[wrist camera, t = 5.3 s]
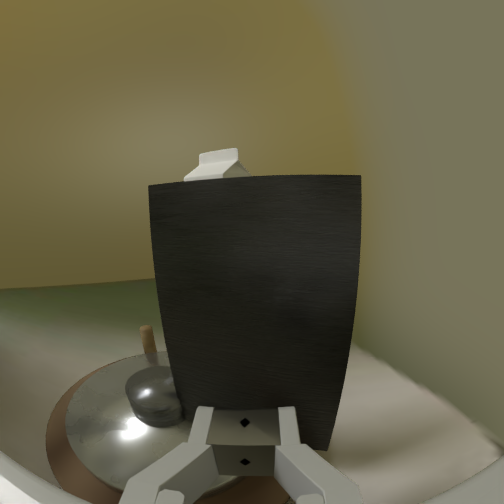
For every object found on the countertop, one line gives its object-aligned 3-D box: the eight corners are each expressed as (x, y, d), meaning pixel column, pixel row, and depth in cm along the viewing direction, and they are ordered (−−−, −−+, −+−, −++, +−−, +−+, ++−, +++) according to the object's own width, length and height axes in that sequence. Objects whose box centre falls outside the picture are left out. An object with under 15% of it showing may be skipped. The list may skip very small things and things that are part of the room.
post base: (16, 480, 7) (-23, 433, 6) (112, 354, 26) (102, 314, 25) (327, 551, 6) (350, 529, 5) (293, 362, 26) (295, 318, 25)
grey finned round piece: (38, 428, 11) (-33, 215, 8) (156, 340, 27) (139, 194, 24) (296, 557, 5) (404, 130, 2) (337, 371, 21) (351, 185, 18)
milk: (220, 309, 40) (214, 156, 35) (256, 317, 37) (252, 150, 32) (193, 324, 35) (182, 151, 30) (230, 336, 32) (222, 143, 27)
